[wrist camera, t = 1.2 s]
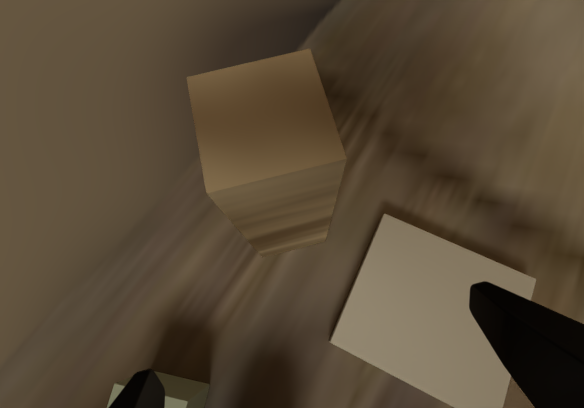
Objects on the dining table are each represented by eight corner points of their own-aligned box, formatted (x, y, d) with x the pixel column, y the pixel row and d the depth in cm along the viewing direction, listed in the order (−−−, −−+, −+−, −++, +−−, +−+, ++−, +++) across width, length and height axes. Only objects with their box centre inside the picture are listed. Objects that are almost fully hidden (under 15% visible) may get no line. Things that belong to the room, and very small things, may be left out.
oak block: (325, 241, 22) (346, 158, 10) (262, 257, 22) (206, 193, 10) (308, 183, 24) (309, 48, 11) (249, 198, 24) (186, 77, 11)
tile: (525, 280, 21) (536, 279, 20) (487, 423, 19) (496, 429, 18) (381, 217, 23) (384, 213, 22) (329, 340, 20) (330, 342, 19)
